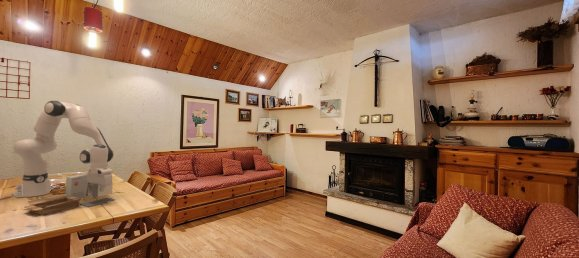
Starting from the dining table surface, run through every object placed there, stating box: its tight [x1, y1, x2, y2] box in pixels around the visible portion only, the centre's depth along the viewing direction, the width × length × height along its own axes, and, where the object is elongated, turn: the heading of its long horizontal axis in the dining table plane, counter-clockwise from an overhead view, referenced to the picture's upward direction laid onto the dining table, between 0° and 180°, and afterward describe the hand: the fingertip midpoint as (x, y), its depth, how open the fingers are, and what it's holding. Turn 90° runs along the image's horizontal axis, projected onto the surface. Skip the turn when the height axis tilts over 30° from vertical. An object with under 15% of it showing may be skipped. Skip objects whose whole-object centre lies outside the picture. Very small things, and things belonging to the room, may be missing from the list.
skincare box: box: [65, 172, 92, 199], centre depth 170 cm, size 21×5×16 cm, turn 168°
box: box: [86, 183, 113, 199], centre depth 161 cm, size 5×12×8 cm, turn 158°
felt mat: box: [79, 197, 116, 208], centre depth 160 cm, size 9×16×1 cm, turn 158°
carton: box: [23, 193, 85, 216], centre depth 147 cm, size 19×23×5 cm
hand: (98, 190), depth 160 cm, fingers closed on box, 5 cm apart
